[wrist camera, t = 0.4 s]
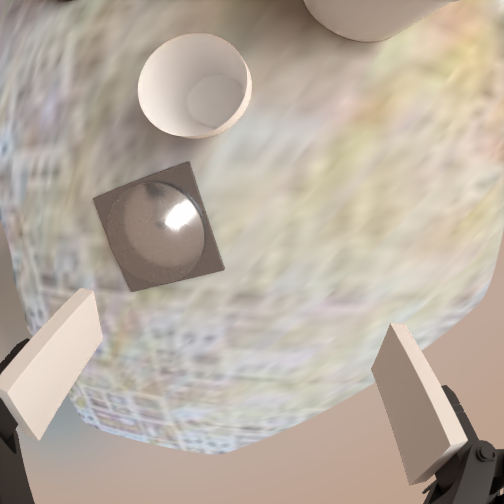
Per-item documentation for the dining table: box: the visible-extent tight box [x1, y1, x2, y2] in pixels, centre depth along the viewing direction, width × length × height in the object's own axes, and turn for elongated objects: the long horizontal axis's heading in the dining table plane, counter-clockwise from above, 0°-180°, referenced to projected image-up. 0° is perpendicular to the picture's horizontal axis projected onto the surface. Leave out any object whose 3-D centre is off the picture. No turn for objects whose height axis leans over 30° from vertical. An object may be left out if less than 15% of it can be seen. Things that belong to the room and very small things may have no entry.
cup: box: [138, 33, 252, 139], centre depth 25 cm, size 9×9×12 cm
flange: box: [93, 162, 225, 292], centre depth 36 cm, size 14×14×2 cm
